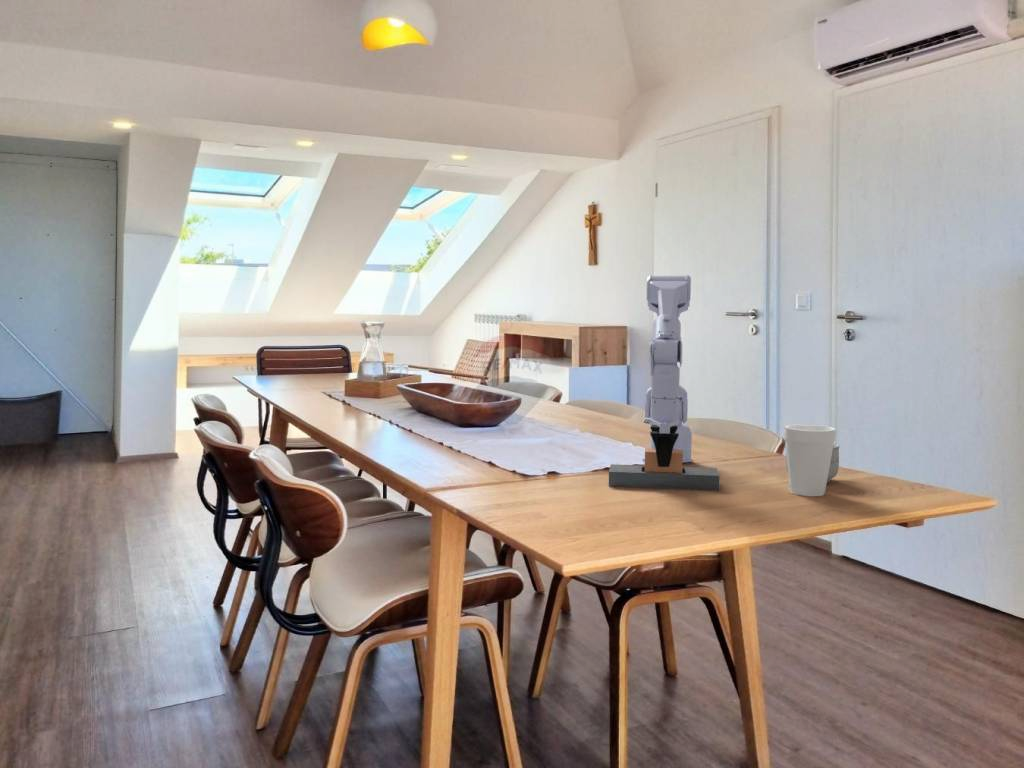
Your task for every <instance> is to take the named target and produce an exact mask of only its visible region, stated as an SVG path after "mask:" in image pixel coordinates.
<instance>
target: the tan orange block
mask: <svg viewBox="0 0 1024 768" xmlns="http://www.w3.org/2000/svg"><path fill="white" fill-rule="evenodd" d="M644 458H645V460H644V466H645V472H651V471H656V472H676V473H682V469H683V467H684V466H683V451H682V450H675V449H673V451H672V456H671V461H670V465H669V467H659V466H658V462H657V455H656V449H650V448H645V449H644Z"/></svg>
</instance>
